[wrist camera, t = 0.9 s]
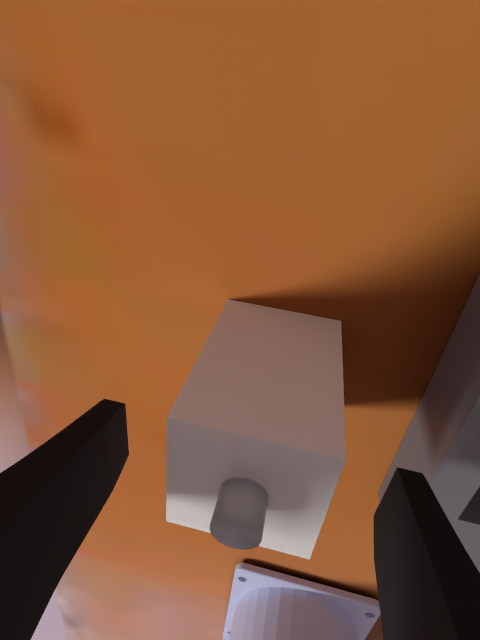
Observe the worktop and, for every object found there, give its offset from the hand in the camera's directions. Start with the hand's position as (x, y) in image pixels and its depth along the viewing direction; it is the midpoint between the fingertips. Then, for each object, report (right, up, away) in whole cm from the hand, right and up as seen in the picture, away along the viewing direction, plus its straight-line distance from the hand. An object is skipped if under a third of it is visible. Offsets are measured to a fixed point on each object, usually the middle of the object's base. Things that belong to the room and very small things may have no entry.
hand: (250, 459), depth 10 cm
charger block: (+1, +2, +4) cm, 5 cm away
